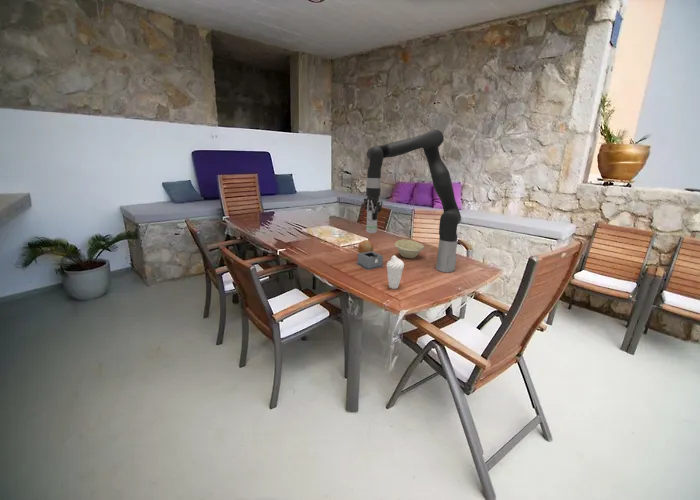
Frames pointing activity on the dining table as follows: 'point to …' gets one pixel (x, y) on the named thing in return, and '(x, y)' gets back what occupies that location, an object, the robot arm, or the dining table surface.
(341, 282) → the dining table surface
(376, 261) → the stand
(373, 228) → the translucent grey cylinder
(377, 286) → the dining table surface
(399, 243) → the bowl
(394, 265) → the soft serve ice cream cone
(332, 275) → the dining table surface
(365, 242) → the onion
